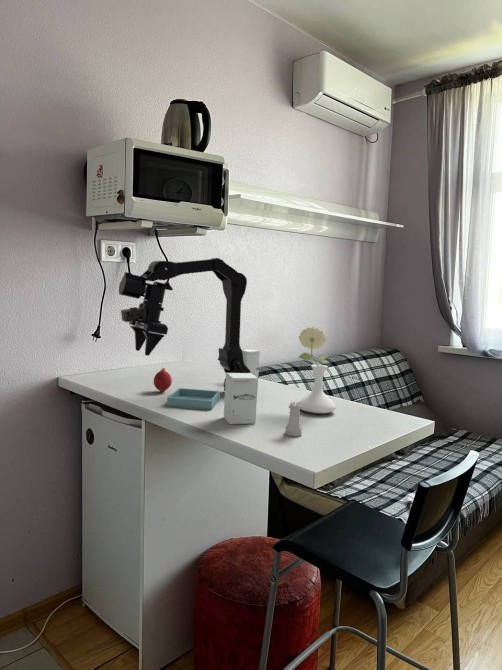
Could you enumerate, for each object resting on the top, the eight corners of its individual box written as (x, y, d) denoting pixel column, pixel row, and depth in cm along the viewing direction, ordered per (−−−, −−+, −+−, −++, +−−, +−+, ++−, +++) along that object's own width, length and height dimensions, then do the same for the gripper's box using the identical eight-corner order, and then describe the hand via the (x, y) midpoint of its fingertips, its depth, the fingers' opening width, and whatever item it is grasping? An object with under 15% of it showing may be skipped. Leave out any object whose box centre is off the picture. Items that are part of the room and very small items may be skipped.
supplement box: (229, 425, 138) (231, 377, 137) (223, 417, 145) (225, 372, 144) (256, 424, 140) (258, 377, 139) (248, 416, 147) (251, 372, 146)
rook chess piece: (301, 431, 135) (303, 401, 134) (303, 437, 131) (305, 405, 130) (283, 431, 135) (285, 400, 134) (285, 436, 131) (287, 405, 130)
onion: (167, 395, 167) (168, 370, 166) (150, 393, 168) (151, 368, 168) (173, 391, 173) (174, 367, 172) (157, 389, 174) (157, 365, 173)
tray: (219, 399, 165) (220, 391, 165) (211, 409, 152) (211, 401, 152) (178, 396, 167) (179, 388, 166) (167, 406, 154) (167, 397, 153)
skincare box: (245, 384, 189) (247, 351, 187) (238, 382, 192) (239, 349, 191) (258, 383, 193) (260, 350, 191) (251, 381, 196) (252, 348, 195)
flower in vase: (341, 411, 159) (347, 328, 156) (326, 419, 149) (333, 331, 146) (302, 403, 165) (307, 324, 162) (285, 410, 155) (290, 326, 153)
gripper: (118, 294, 162) (107, 344, 162) (136, 298, 145) (124, 353, 146) (152, 301, 167) (142, 349, 167) (173, 306, 151) (162, 359, 151)
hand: (142, 352), depth 158 cm, fingers open, 9 cm apart
